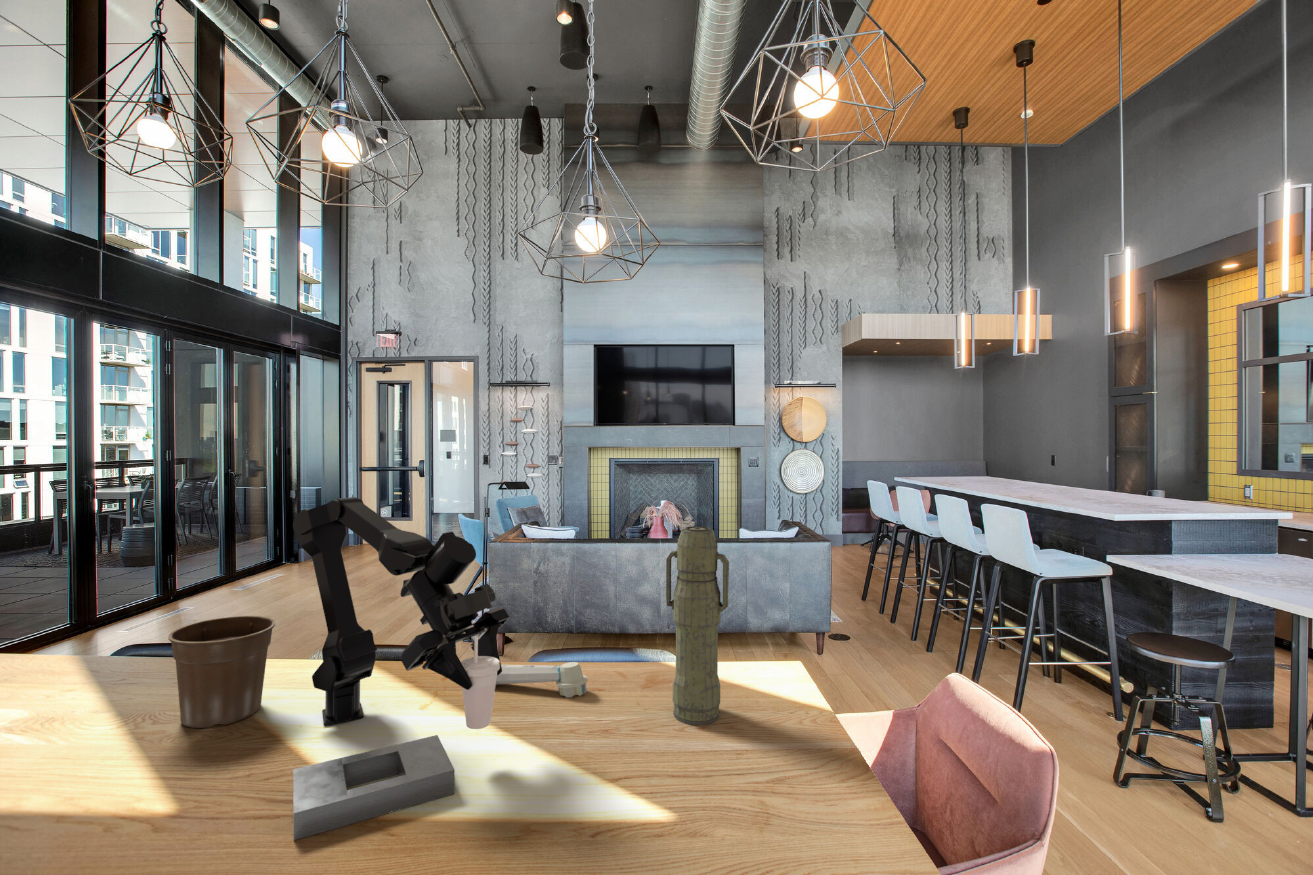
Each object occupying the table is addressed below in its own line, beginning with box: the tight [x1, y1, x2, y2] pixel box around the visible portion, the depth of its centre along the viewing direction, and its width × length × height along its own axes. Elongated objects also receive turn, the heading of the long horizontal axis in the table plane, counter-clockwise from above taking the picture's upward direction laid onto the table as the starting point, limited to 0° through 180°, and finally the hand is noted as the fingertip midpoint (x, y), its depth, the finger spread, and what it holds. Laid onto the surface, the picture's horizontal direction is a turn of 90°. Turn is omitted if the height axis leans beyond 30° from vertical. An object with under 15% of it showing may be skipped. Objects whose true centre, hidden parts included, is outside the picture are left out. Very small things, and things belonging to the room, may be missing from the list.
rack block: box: [292, 734, 456, 841], centre depth 87 cm, size 12×20×4 cm, turn 121°
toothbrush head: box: [496, 661, 588, 699], centre depth 125 cm, size 5×7×25 cm
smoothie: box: [460, 635, 501, 730], centre depth 96 cm, size 6×6×14 cm
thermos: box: [665, 525, 730, 726], centre depth 114 cm, size 9×12×35 cm
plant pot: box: [167, 615, 276, 729], centre depth 112 cm, size 16×16×16 cm
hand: (485, 680), depth 96 cm, fingers closed on smoothie, 6 cm apart
